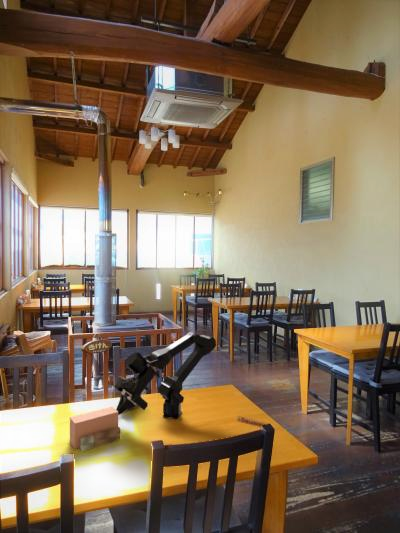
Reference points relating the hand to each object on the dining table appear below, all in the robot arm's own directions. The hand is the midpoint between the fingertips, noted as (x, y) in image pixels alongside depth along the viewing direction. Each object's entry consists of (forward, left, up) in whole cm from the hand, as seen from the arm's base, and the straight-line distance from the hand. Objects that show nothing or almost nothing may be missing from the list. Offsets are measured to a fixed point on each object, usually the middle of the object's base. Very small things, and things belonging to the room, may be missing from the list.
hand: (115, 414), depth 138 cm
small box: (+5, -24, -7) cm, 26 cm away
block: (+5, +7, -7) cm, 11 cm away
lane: (+5, +6, -7) cm, 10 cm away
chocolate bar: (-49, -21, -7) cm, 54 cm away
